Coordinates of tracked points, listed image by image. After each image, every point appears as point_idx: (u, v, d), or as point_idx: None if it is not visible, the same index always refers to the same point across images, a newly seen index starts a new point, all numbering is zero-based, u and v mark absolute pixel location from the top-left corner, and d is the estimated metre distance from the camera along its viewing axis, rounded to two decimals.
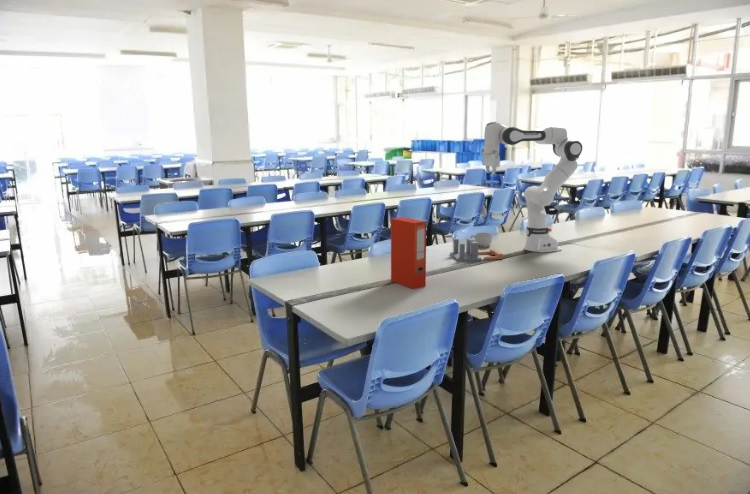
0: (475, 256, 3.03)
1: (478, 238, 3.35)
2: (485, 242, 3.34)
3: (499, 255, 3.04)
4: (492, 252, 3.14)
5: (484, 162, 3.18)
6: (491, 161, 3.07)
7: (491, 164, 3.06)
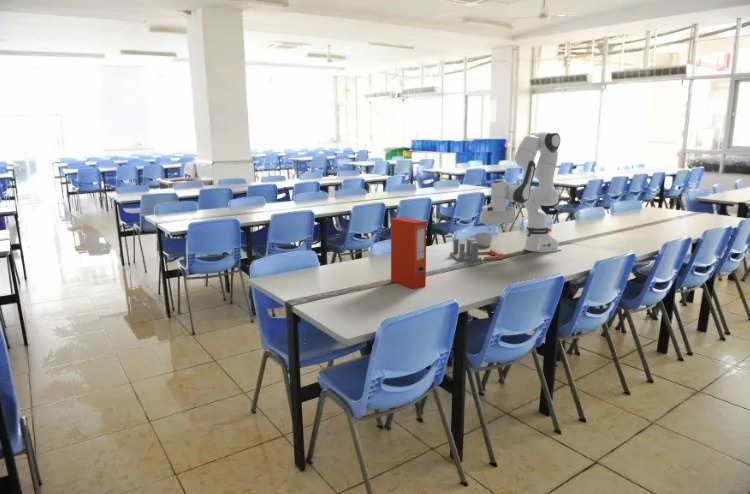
0: (475, 256, 3.03)
1: (478, 238, 3.35)
2: (485, 242, 3.34)
3: (499, 255, 3.04)
4: (492, 252, 3.14)
5: (487, 221, 3.04)
6: (507, 218, 3.05)
7: (508, 221, 3.06)
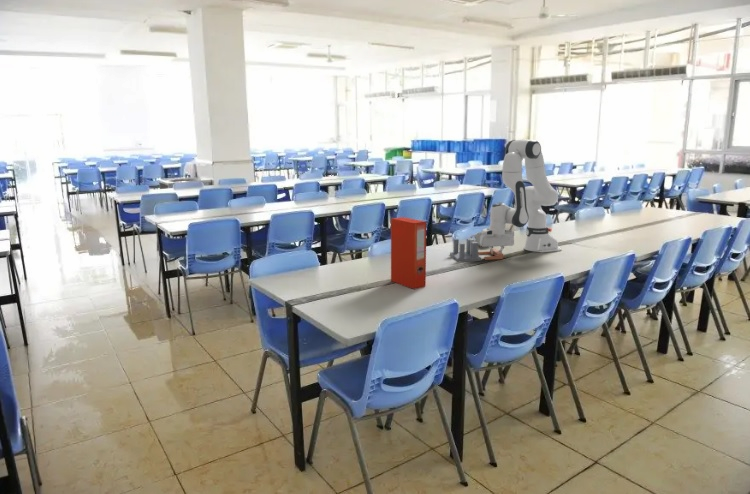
0: (475, 256, 3.03)
1: (478, 238, 3.35)
2: None
3: (499, 255, 3.04)
4: None
5: (487, 244, 3.07)
6: (506, 241, 3.08)
7: (507, 244, 3.09)
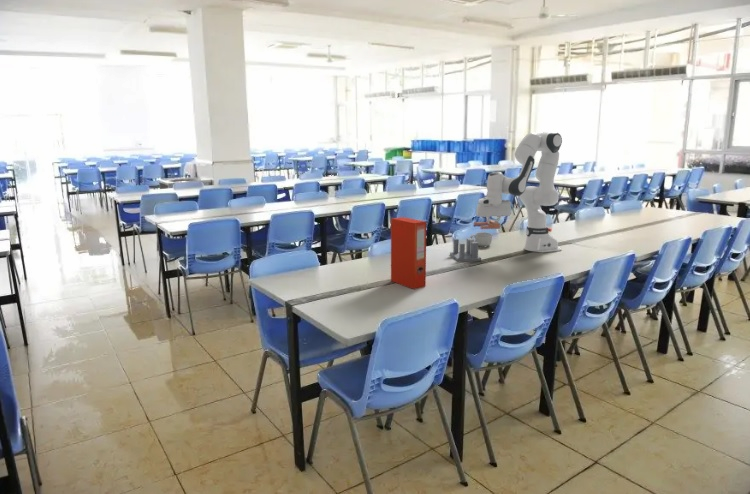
0: (475, 256, 3.03)
1: (478, 238, 3.35)
2: (485, 242, 3.34)
3: (496, 225, 3.00)
4: None
5: (483, 213, 3.03)
6: (503, 211, 3.04)
7: (504, 214, 3.05)
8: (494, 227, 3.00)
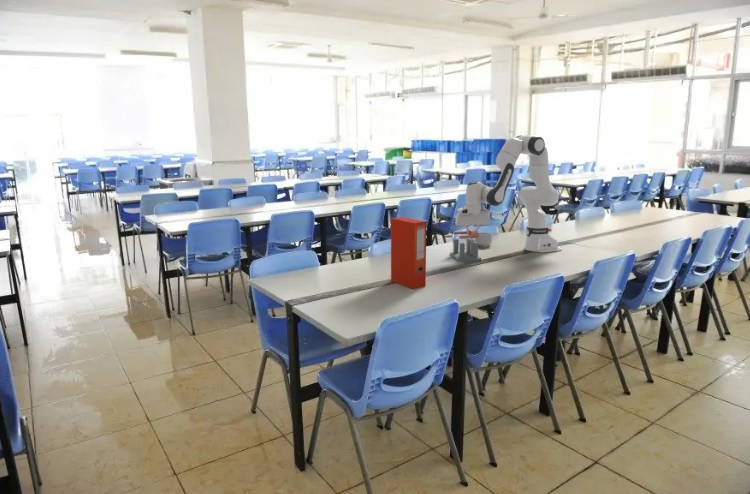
0: (475, 256, 3.03)
1: (478, 238, 3.35)
2: (485, 242, 3.34)
3: (474, 234, 3.00)
4: None
5: (462, 223, 3.03)
6: (482, 220, 3.04)
7: (483, 223, 3.04)
8: (473, 236, 3.00)
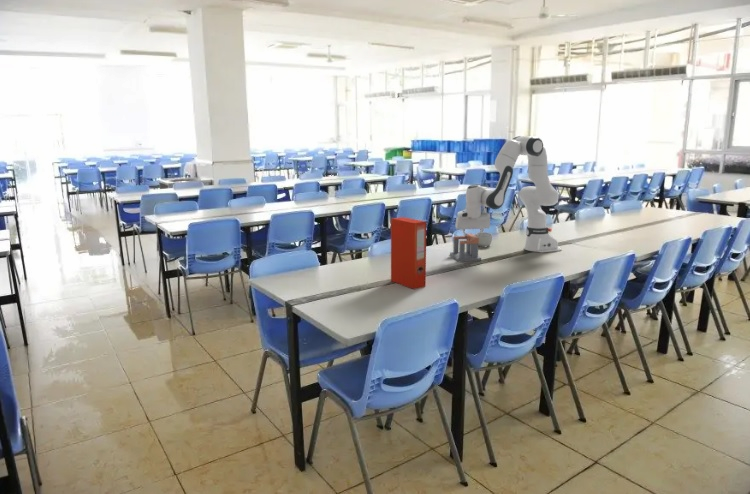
0: (475, 256, 3.03)
1: None
2: (485, 242, 3.34)
3: (475, 239, 3.00)
4: (468, 237, 3.10)
5: (462, 226, 3.03)
6: (482, 223, 3.04)
7: (483, 227, 3.05)
8: (473, 242, 3.01)
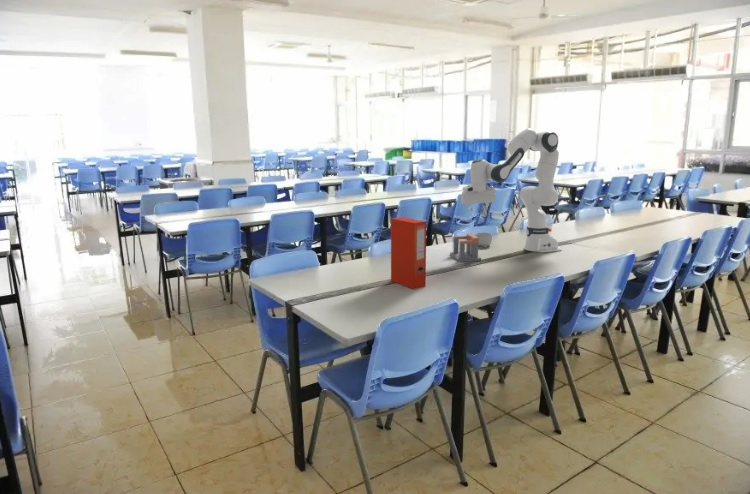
0: (475, 256, 3.03)
1: None
2: (485, 242, 3.34)
3: (475, 239, 3.00)
4: (468, 237, 3.10)
5: (468, 201, 3.06)
6: (488, 197, 3.07)
7: (489, 201, 3.08)
8: (473, 242, 3.01)
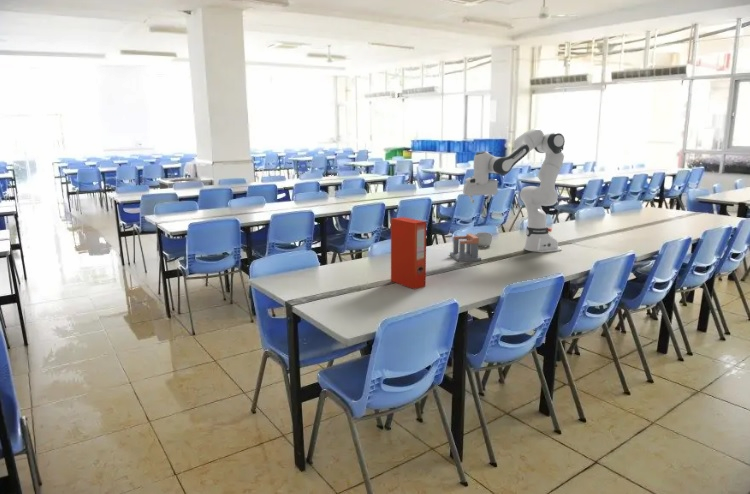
0: (475, 256, 3.03)
1: None
2: (485, 242, 3.34)
3: (475, 239, 3.00)
4: (468, 237, 3.10)
5: (470, 192, 3.09)
6: (490, 189, 3.10)
7: (491, 193, 3.10)
8: (473, 242, 3.01)
